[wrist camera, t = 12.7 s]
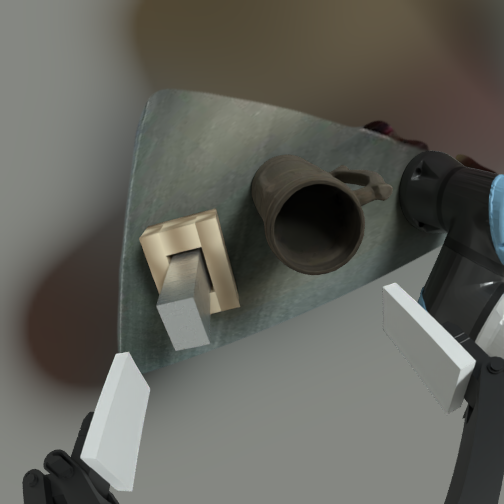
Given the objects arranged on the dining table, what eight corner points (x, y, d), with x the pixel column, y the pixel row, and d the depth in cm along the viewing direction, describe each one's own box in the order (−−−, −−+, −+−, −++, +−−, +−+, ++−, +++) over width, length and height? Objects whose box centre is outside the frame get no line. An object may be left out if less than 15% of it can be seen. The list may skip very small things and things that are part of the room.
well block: (216, 208, 47) (215, 218, 41) (237, 288, 52) (240, 306, 46) (148, 226, 46) (139, 238, 41) (174, 303, 51) (170, 322, 46)
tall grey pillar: (200, 240, 47) (193, 297, 30) (211, 275, 49) (210, 343, 33) (176, 246, 47) (156, 305, 30) (187, 280, 49) (175, 350, 32)
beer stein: (273, 238, 49) (306, 300, 31) (232, 184, 46) (244, 216, 27) (350, 184, 48) (422, 214, 29) (315, 127, 44) (379, 123, 25)
